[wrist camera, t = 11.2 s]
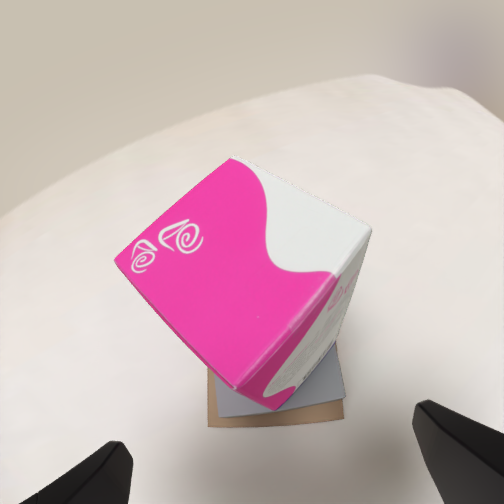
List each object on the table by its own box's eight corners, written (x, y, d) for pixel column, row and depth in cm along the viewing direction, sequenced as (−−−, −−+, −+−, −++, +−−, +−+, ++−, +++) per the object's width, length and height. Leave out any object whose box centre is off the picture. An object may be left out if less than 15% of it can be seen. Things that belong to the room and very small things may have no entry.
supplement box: (265, 287, 20) (236, 146, 10) (337, 341, 17) (387, 229, 8) (203, 351, 18) (106, 255, 9) (274, 415, 16) (244, 402, 6)
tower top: (318, 299, 22) (320, 284, 20) (339, 400, 18) (345, 397, 16) (216, 316, 22) (208, 303, 20) (227, 417, 18) (218, 417, 16)
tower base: (326, 308, 24) (329, 296, 22) (338, 419, 19) (343, 418, 17) (216, 317, 25) (208, 306, 23) (216, 426, 20) (207, 427, 18)
